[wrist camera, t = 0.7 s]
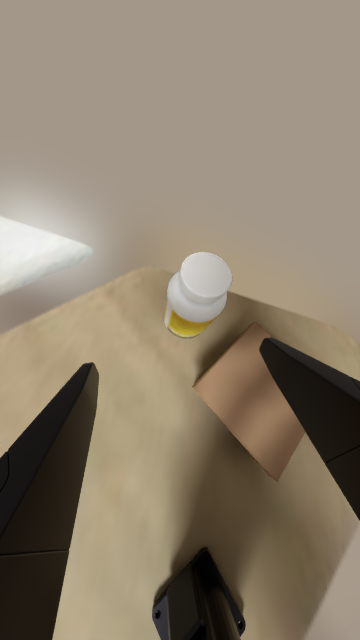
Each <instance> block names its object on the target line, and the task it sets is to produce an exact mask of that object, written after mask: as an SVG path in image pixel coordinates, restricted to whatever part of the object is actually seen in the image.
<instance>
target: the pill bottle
mask: <svg viewBox="0 0 360 640" xmlns="http://www.w3.org/2000/svg"><path fill="white" fill-rule="evenodd" d="M231 283H232V273H231V270H230V268H229V266H228V265H227V263H226V262H225V261H224V260H223V259H221V258H220V257H219V256H217V255H215V254H212V253H208V252H197V253H193V254H191V255H189V256H188V257H187V258H186V259H185V260H184V262H183V263H182V266H181V269H180V270H179V271H178V272H176V273H175V274H174V275H173V277H172V278H171V280H170V282H169V284H168V288H167V295H166V303H165V311H164V322H165V325H166V327H167V329H168V330H169V331H170V332H171V333H172V334H173V335H175V336H177V337H179V338H185V339H187V338H193V337H195V336H197V335H199V334H200V333H201V332H202V331H203V330H204V329H205V328H206V327H207V326H208V325H209V324H210V323H211V322H212V321H213V320H214V319H215V318H216V317H217V316H218V315H219V314H220V313H221V312H222V310H223V309H224V307H225V304H226V300H227V291H228V289H229V288H230V286H231Z"/></svg>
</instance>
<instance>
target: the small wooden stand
mask: <svg viewBox="0 0 360 640" xmlns="http://www.w3.org/2000/svg"><path fill="white" fill-rule="evenodd" d="M268 337H271V336H270V335H269V334H268V333H267V332H266V331H265V330H264V329H263V328H262V327H261V326H260V325H259V324H258V323H257V322H254V323H252V324H251V325H250V326H249V327H248V328H247V329H246V330H245V331H244V332H243V333H242V334H241V335H240V336H239V337H238V338H237V339H236V340H235V342H234V343H233V344H232V345H231V346H230V347H229V348H228V349H227V350H226V351H225V352H224V353H223V354H222V355H221V356H220V357H219V359H218V360H217V361H216V362H215V363H214V364H213V365H212V366H211V367H210V368H209V369H208V370H207V371H206V372H205V373H204V374H203V375H202V377H201V378H200V379H199V380H198V381H197V382H196V383H195V384H194V385H193V386H192V388H193V389H194V390H195V391H196V392H197V394H198V395H199V396H200V397H201V398H202V399H203V400H204V402H205V403H206V404H207V405H208V406H209V407H210V408H211V410H212V411H213V412H214V413H215V414H216V415H217V416H218V418H219V419H220V420H221V421H222V422H223V423H224V424H225V426H226V427H227V428H228V429H229V430H230V431H231V432H232V434H233V435H234V436H235V437H236V438H237V439H238V440H239V442H240V443H241V444H242V445H243V446H244V447H245V448H246V450H247V451H248V452H249V453H250V454H251V455H252V457H253V458H254V459H255V460H256V461H257V462H258V463H259V465H260V466H261V467H262V468H263V469H264V470H265V471H266V473H267V474H268V475H269V476H270V477H271V478H273V479H274V480H275V481H276V482H277V481H278V479H279V477H280V476H281V474H282V472H283V470H284V469H285V467H286V465H287V463H288V462H289V460H290V458H291V456H292V454H293V453H294V451H295V449H296V447H297V446H298V444H299V442H300V440H301V438H302V437H303V435H304V433H305V430H304V429H303V427H302V425H301V424H300V422H299V420H298V419H297V417H296V415H295V414H294V412H293V411H292V409H291V407H290V406H289V404H288V402H287V401H286V399H285V397H284V396H283V394H282V393H281V391H280V389H279V388H278V386H277V384H276V383H275V381H274V379H273V378H272V376H271V374H270V372H269V370H268V368H267V366H266V364H265V362H264V360H263V358H262V356H261V354H260V351H259V347H260V345H261V343H262V341H263V339H264V338H268Z"/></svg>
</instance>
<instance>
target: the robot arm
mask: <svg viewBox="0 0 360 640" xmlns="http://www.w3.org/2000/svg"><path fill="white" fill-rule="evenodd" d="M259 351H260V354H261V356H262V358H263V360H264V362H265V364H266V366H267V368H268V370H269V372H270V374H271V376H272V378H273V379H274V381H275V383H276V384H277V386H278V388H279V389H280V391H281V393H282V394H283V396H284V397H285V399H286V401H287V402H288V404H289V406H290V407H291V409H292V411H293V412H294V414H295V415H296V417H297V419H298V420H299V422H300V424H301V425H302V427H303V429H304V430H305V432H306V433H307V435H308V437H309V438H310V440H311V442H312V443H313V445H314V447H315V448H316V450H317V451H318V453H319V455H320V456H321V458H322V460H323V461H324V463H325V465H326V466H327V468H328V470H329V471H330V473H331V475H332V476H333V478H334V479H335V481H336V483H337V484H338V486H339V488H340V489H341V491H342V493H343V494H344V496H345V497H346V499H347V501H348V502H349V504H350V506H351V507H352V509H353V511H354V512H355V514H356V515H357V517H358V519H359V520H360V381H358V380H356V379H354V378H352V377H349V376H348V375H346V374H344V373H342V372H340V371H338V370H336V369H334V368H332V367H330V366H328V365H326V364H324V363H322V362H320V361H318V360H316V359H314V358H312V357H310V356H308V355H306V354H304V353H302V352H300V351H298V350H296V349H294V348H292V347H290V346H288V345H286V344H284V343H282V342H280V341H278V340H276V339H274V338H272V337H268V338H264V339H263V341H262V343H261V345H260V347H259ZM98 383H99V373H98V371H97V369H96V366H95V364H94V363H93V362H91V363H85V364H83V365H82V366H81V367H80V368H79V369H78V370H77V372H76V373H75V374H74V375H73V376H72V377H71V378H70V380H69V381H68V382H67V383H66V384H65V385H64V386H63V387H62V389H61V390H60V391H59V392H58V393H57V394H56V395H55V397H54V398H53V399H52V400H51V401H50V402H49V403H48V405H47V406H46V407H45V408H44V409H43V410H42V411H41V412H40V414H39V415H38V416H37V417H36V418H35V419H34V420H33V422H32V423H31V424H30V425H29V426H28V427H27V428H26V430H25V431H24V432H23V433H22V434H21V435H20V436H19V438H18V439H17V440H16V441H15V442H14V443H13V444H12V445H11V447H10V448H9V449H8V451H7V452H5V453H4V454H3V456H2V457H1V458H0V640H52V638H53V633H54V628H55V623H56V617H57V612H58V607H59V602H60V597H61V591H62V586H63V581H64V576H65V571H66V566H67V560H68V555H69V548H70V544H71V539H72V534H73V529H74V524H75V518H76V513H77V508H78V503H79V498H80V493H81V487H82V482H83V477H84V472H85V467H86V462H87V456H88V451H89V446H90V441H91V436H92V431H93V425H94V420H95V415H96V408H97V396H98ZM205 555H207V557H206V558H204V556H205ZM157 610H160V612H158V613H156V611H157ZM152 618H153V621H154V624H155V626H156V629H157V631H158V633H159V636H160V638H161V640H241V639H240V637H241V635H242V634H243V632H244V630H245V626H246V625H245V620H244V617H243V615H242V612H241V610H240V609H239V607H238V605H237V603H236V601H235V599H234V597H233V595H232V593H231V591H230V589H229V587H228V585H227V583H226V582H225V580H224V578H223V576H222V574H221V572H220V570H219V568H218V566H217V564H216V562H215V560H214V558H213V557H212V555H211V553H210V551H209V549H208V548H207V547H204V548H203V549H202V550H201V551H200V552H199V553H198V554H197V555H196V556H195V558H194V559H193V560H192V561H191V562H190V563H189V564H188V565H187V566H186V567H185V568H184V569H183V571H182V572H181V573H180V574H179V575H178V576H177V577H176V578H175V580H174V581H173V582H172V583H171V584H170V585H169V586H168V588H167V589H166V590H165V591H164V593H163V594H162V595H161V596H160V597H159V598H158V599H157V600H156V602H155V603H154V605H153V608H152ZM239 621H240V623H238V622H239Z"/></svg>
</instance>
